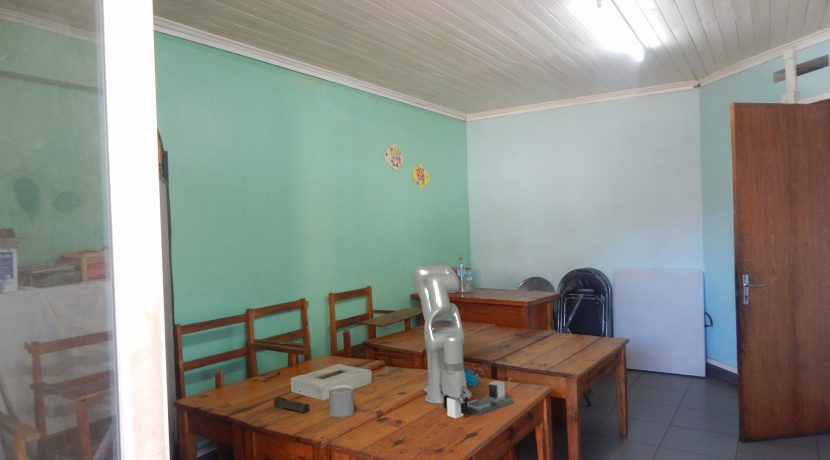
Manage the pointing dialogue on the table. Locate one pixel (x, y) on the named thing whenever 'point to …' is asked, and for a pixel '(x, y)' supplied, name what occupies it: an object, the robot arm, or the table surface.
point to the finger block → (454, 407)
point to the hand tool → (291, 405)
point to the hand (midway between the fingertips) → (455, 409)
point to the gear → (470, 377)
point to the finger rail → (490, 400)
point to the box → (329, 380)
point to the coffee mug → (341, 401)
